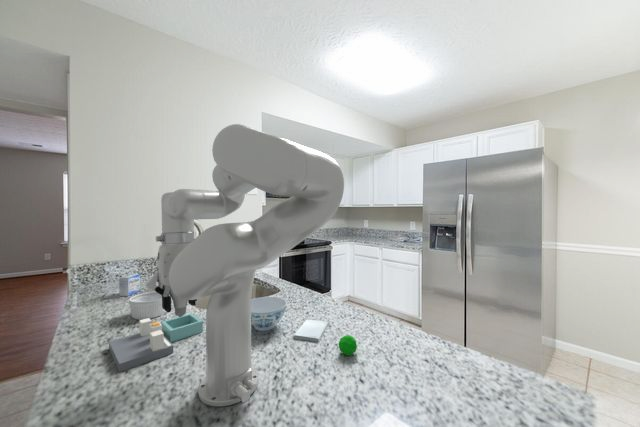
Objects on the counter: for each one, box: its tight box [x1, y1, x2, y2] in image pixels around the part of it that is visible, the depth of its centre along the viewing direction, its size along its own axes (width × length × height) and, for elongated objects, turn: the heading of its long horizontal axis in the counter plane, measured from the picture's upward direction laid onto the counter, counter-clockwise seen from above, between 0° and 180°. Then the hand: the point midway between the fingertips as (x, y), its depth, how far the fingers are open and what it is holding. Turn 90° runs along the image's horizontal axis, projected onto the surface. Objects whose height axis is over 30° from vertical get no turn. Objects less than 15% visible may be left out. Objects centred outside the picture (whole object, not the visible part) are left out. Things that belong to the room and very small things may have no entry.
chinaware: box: [251, 296, 288, 332], centre depth 88 cm, size 15×15×8 cm
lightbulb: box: [169, 288, 189, 317], centre depth 68 cm, size 6×6×11 cm
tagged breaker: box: [149, 321, 162, 338], centre depth 76 cm, size 3×2×4 cm
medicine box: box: [118, 273, 141, 297], centre depth 124 cm, size 8×4×9 cm, turn 179°
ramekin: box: [128, 291, 170, 320], centre depth 99 cm, size 13×13×7 cm
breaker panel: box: [108, 318, 174, 373], centre depth 73 cm, size 16×12×6 cm
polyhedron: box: [338, 334, 358, 356], centre depth 71 cm, size 5×5×5 cm
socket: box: [160, 313, 204, 343], centre depth 84 cm, size 10×10×4 cm
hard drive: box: [293, 319, 329, 343], centre depth 85 cm, size 2×8×12 cm
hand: (180, 307), depth 68 cm, fingers closed on lightbulb, 5 cm apart
